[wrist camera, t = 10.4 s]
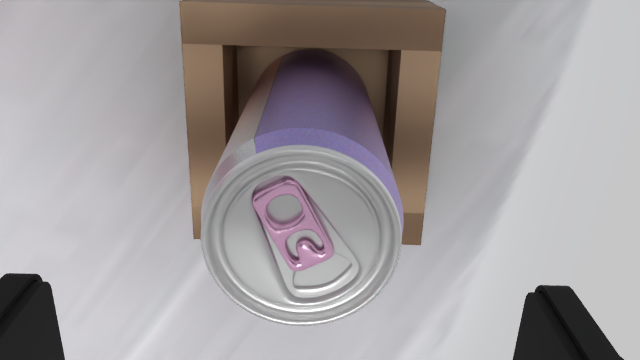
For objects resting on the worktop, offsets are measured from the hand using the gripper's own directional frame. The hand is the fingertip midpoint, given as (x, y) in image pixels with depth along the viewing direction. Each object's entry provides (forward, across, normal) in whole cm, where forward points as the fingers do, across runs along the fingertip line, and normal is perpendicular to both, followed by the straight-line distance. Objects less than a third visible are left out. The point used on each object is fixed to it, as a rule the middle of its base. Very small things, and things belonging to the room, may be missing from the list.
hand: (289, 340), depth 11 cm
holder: (+20, 0, +1) cm, 20 cm away
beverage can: (+20, 0, +1) cm, 20 cm away
